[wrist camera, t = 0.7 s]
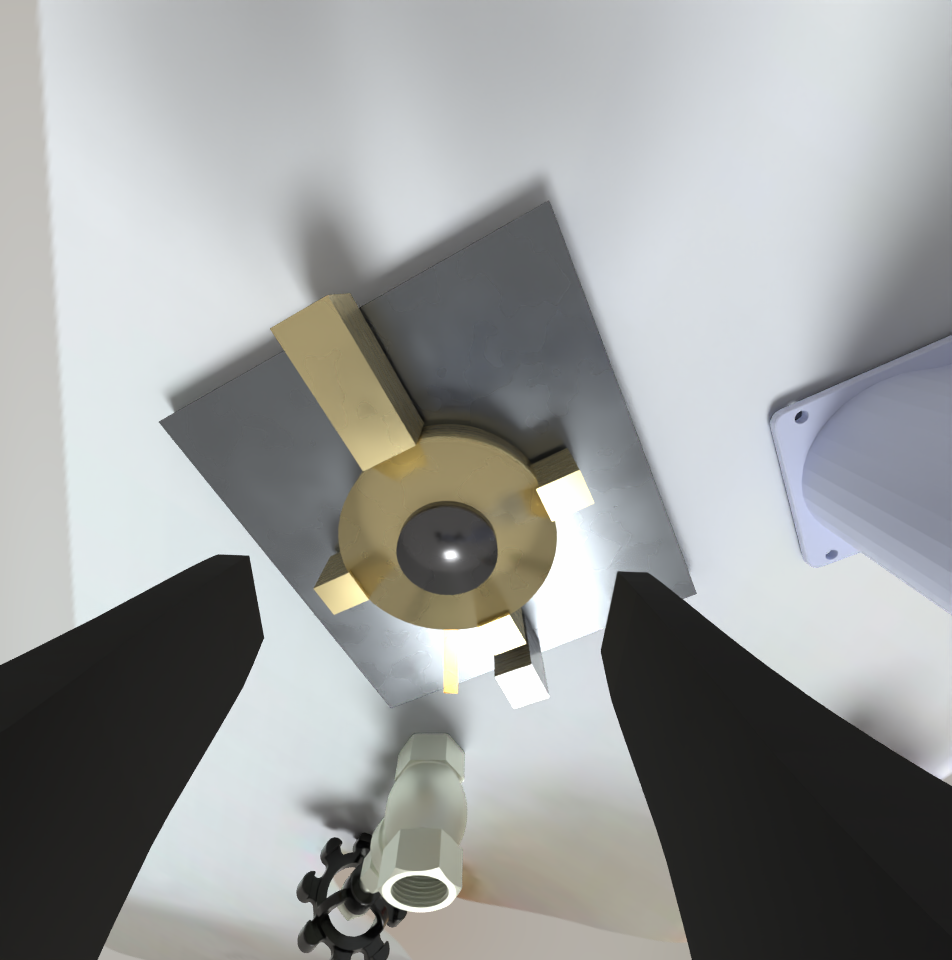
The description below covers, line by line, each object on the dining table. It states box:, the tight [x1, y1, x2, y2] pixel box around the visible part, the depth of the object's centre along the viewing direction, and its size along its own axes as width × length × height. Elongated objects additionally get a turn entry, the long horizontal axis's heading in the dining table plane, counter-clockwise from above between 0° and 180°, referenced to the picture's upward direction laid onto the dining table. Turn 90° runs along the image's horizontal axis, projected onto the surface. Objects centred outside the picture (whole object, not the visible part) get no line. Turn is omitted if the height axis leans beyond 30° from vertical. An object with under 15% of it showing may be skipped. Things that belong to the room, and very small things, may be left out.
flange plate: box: [159, 201, 697, 709], centre depth 18 cm, size 16×18×4 cm
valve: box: [297, 733, 467, 960], centre depth 24 cm, size 7×7×12 cm
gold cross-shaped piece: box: [270, 293, 594, 655], centre depth 16 cm, size 14×11×3 cm
